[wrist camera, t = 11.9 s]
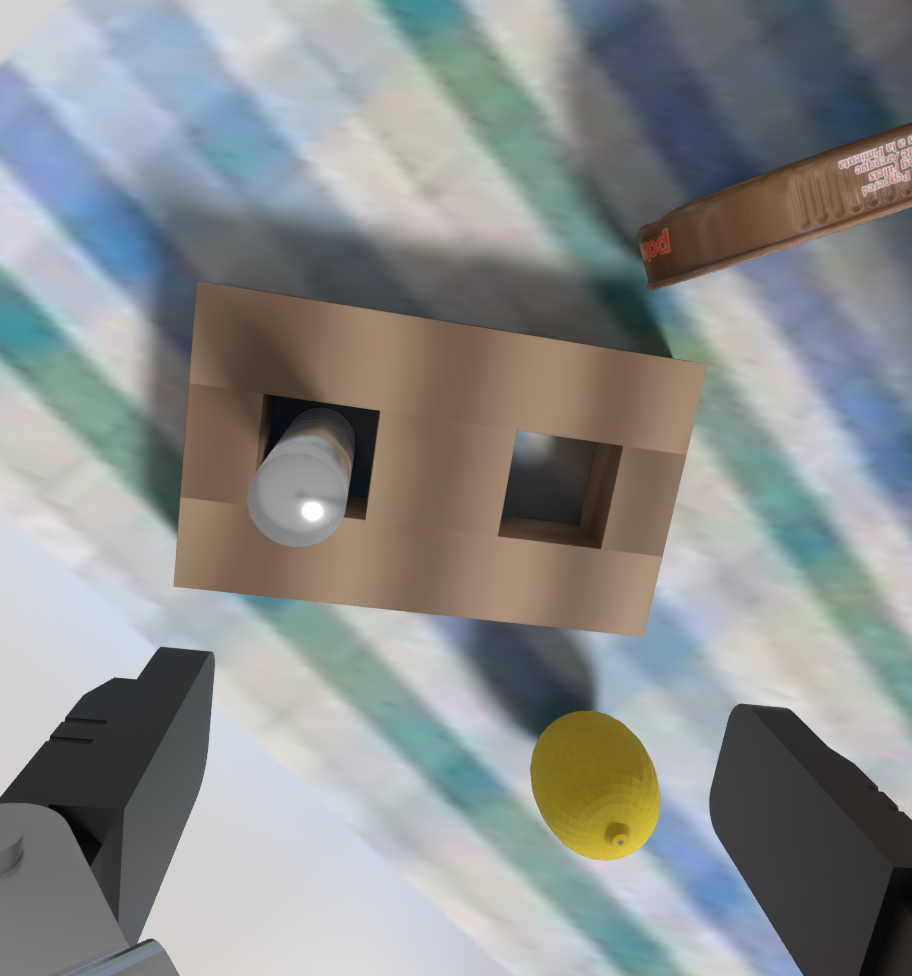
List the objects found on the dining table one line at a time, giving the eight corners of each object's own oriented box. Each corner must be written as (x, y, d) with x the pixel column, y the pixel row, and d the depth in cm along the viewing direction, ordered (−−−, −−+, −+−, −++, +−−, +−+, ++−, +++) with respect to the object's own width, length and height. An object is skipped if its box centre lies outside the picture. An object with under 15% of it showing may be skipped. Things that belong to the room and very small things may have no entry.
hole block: (673, 358, 33) (707, 364, 30) (618, 605, 36) (643, 636, 32) (217, 283, 30) (197, 281, 27) (194, 557, 33) (173, 586, 29)
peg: (359, 413, 32) (352, 460, 22) (350, 479, 33) (340, 552, 23) (290, 402, 32) (252, 446, 22) (283, 470, 32) (242, 540, 23)
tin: (621, 298, 32) (704, 296, 24) (603, 225, 31) (682, 197, 23) (941, 191, 32) (1130, 153, 24) (932, 117, 32) (1124, 52, 23)
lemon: (499, 711, 36) (531, 821, 29) (599, 663, 36) (659, 760, 29) (542, 795, 38) (585, 921, 30) (639, 749, 38) (706, 863, 30)
